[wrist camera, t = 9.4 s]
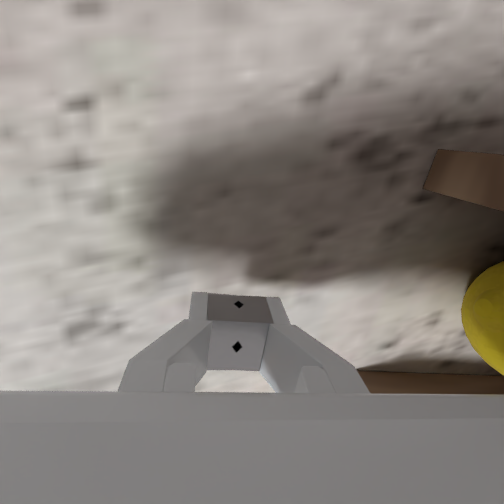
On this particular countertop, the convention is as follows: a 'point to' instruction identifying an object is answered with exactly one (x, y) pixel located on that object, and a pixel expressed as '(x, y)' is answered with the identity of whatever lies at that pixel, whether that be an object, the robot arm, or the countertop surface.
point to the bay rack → (472, 190)
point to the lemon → (486, 316)
